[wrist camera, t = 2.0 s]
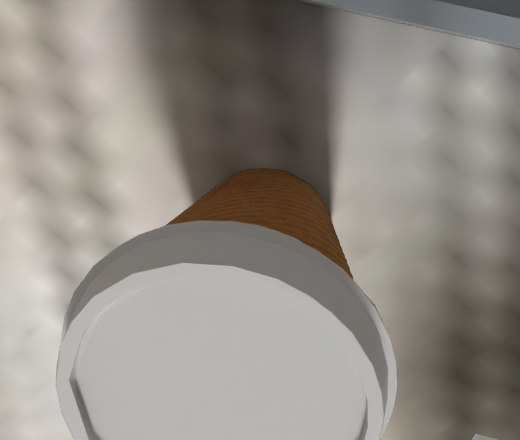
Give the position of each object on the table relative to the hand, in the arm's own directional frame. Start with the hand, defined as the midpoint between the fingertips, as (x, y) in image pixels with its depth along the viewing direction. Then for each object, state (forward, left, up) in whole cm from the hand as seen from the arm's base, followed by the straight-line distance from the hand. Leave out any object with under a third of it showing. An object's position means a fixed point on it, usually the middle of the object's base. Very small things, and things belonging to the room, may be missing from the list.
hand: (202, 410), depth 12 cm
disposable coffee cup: (0, 0, -13) cm, 13 cm away
